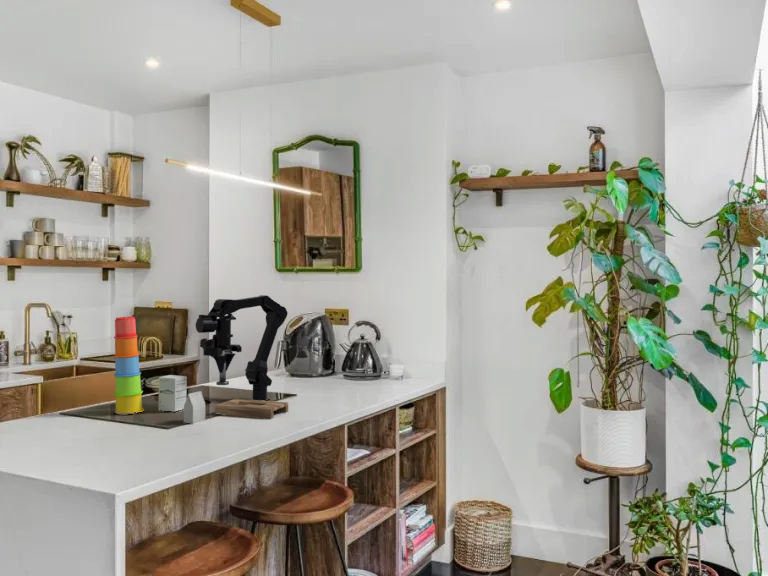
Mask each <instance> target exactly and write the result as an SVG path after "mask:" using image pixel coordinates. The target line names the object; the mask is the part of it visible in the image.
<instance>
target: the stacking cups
mask: <svg viewBox="0 0 768 576" xmlns="http://www.w3.org/2000/svg"><path fill="white" fill-rule="evenodd" d="M136 323H137V322H136V318H135V316H120V317H116V318H115V319H114V332H115V333H114V334H115V335H114V336H113V338H114V348H115V349H114V351H115V353H114V355H113V357H114V362H115V363H114V366H115V368H114V369H115V370H114V371H115V373H114V374H113V377H115V378H114V379H115V392H114V393H113V395H114V396H115V411H116V412H118V413H134V412H136V413H137V412H142V413H143V411H145V409H144V408H143V401H142V399H143V396H142V394H143V392H144V390H142V388H141V387H142V386H141V385H142V384H141V374H142V372H141V371H140V360H139V356H140V353H139V349H138V348H139V347H138V337H139V335H137V324H136Z"/></svg>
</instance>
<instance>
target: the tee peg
mask: <svg viewBox="0 0 768 576" xmlns="http://www.w3.org/2000/svg"><path fill="white" fill-rule="evenodd" d="M218 374H219V376H218V377H219V378H218V379H219V380H217V381H216V382H215V383H216V385H217V386H228V385H229V383H230V381H229V380H228V381H227V371H226V362H225V366H224V369H223V372H222V373H218Z"/></svg>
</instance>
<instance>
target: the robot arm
mask: <svg viewBox="0 0 768 576" xmlns="http://www.w3.org/2000/svg"><path fill="white" fill-rule="evenodd" d="M254 307H260V308H261V309H262V311H263V312H264V313H265V323H266V324H265V325H266V326H265V329H264V332H263V335H262V337H261V341H260V344H259V345H258V349H257V352H256V354H255V357H254V359H253V360H252V361H250V360H249V361H248V362H247V366H246V368H245V369H244V371H245V375H244V376H245V378H246V379H247V381H248V384H249V385H252V399H253V400H266V399H267V398H268V387H271V385H272V382H273V379H272V378H270V376H269V375H268V370H269V367H268V359H269V356H270V354H271V351H272V347H273V344H274V342H275V339H276V336H277V333H278V330H279V328H280V327H281V326H282V325H283V324H284V323H285V321H286V319H287V317H288V313H289V312H288V311H287V308H286V307H285V306H283V305H281V304H279V303H278V302H277V301H275V300H273V299H272V298H271V297H270V296H268V295H263V294H262V295H258V296H252V297H245V298H240V299H239V298H238V299H227V298H226V299H224V298H218V299H216V300H214V303H213V306H212V307H211V309H210V310H209V312H208V314H199V315H198V318H197V319H196V322H195V330H196V332H197V333H199V334H204V333H205V334H206V333H214V334H212V338H210V339H208V338H201V339H200V341H199V347H200V348H202V350H203V356H205V357H206V356H207V357H209V356H210V357H211V358H213V359H214V361H215V364H216V366H217V369H218V372H219V373H222V372H223V369H224V366H225V362H226V372H227V371H228V369H229V366H230V364H231V363H232V361H233V359H234V357H235V356H236V353H233V352H237V353H241V352H242V346H241V344H237V343H236V344H235V343H234V344H233V343H231V342H232V341H231V340H232V338H233V337H234V333H232V321H235V320H237V317H235V315H233V313H236V312H237V311H239V310H242V309H248V308H249V309H250V308H254ZM231 333H232V334H231ZM219 373H218V374H219Z"/></svg>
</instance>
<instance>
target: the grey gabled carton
mask: <svg viewBox="0 0 768 576" xmlns="http://www.w3.org/2000/svg"><path fill="white" fill-rule="evenodd" d="M202 420H205V421H206V401H205V399H204V396H203V393H202V391H200V390H198V391H195V392H190V393H188V394H187V395H186V402H185V404H184V410H183V423H184V422H185V423H190V424H189V425H195V424H194V423H196V424H198V423H197V422H199V423H201V422H200V421H202ZM202 422H203V421H202ZM185 423H184V424H185Z"/></svg>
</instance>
